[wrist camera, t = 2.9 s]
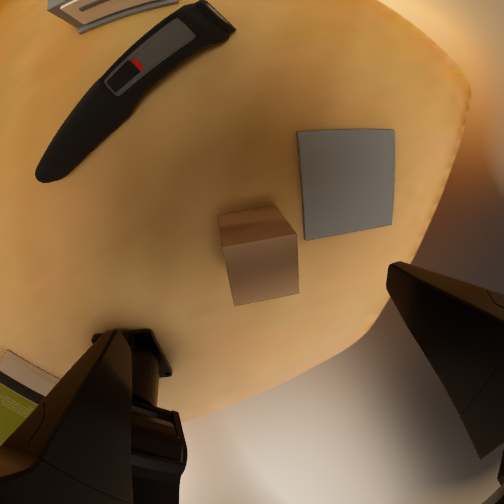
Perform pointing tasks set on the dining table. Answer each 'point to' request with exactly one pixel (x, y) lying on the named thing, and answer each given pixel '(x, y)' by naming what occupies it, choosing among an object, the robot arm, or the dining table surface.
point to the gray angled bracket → (100, 10)
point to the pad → (346, 180)
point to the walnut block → (259, 255)
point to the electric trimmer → (130, 84)
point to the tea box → (20, 391)
